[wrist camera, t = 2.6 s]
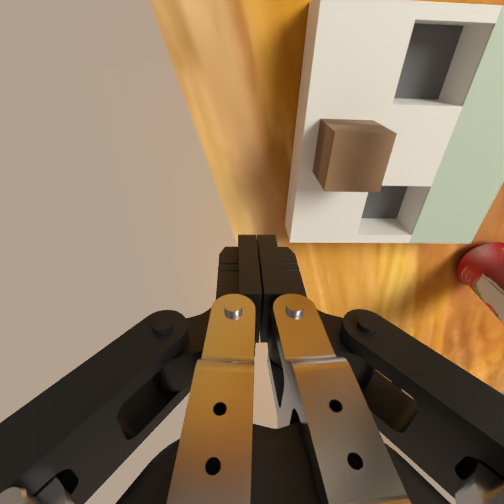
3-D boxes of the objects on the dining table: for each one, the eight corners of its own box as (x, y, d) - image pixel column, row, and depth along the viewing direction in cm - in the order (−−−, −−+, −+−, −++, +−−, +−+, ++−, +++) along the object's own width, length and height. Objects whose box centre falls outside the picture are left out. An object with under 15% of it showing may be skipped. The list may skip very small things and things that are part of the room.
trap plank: (284, 223, 35) (289, 242, 32) (309, 2, 24) (321, -4, 21) (449, 225, 36) (470, 243, 33) (547, 14, 25) (595, 10, 22)
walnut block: (312, 171, 28) (324, 191, 24) (320, 118, 25) (335, 131, 21) (360, 172, 28) (379, 192, 24) (373, 120, 25) (396, 133, 22)
